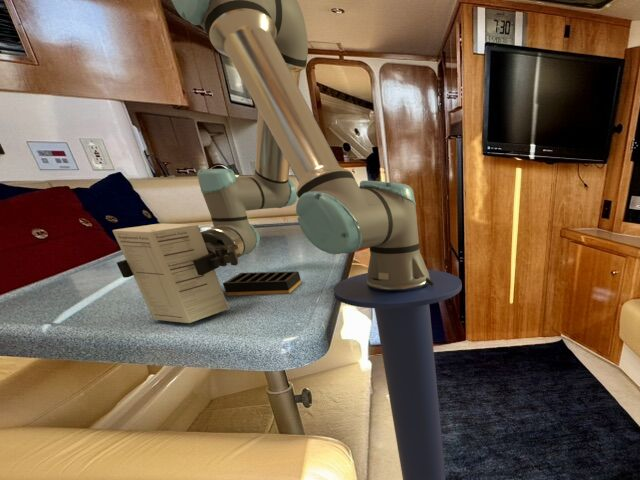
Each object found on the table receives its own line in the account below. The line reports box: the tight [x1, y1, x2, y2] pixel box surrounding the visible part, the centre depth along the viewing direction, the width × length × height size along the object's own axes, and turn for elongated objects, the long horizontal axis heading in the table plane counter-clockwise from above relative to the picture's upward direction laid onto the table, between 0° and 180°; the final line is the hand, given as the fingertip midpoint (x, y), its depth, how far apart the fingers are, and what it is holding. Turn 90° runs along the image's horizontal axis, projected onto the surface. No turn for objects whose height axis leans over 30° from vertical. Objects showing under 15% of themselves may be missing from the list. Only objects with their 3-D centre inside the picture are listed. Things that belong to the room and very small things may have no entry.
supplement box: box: [112, 223, 229, 324], centre depth 77 cm, size 10×9×17 cm
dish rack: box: [222, 271, 302, 296], centre depth 98 cm, size 14×10×3 cm
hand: (160, 269), depth 73 cm, fingers closed on supplement box, 12 cm apart
